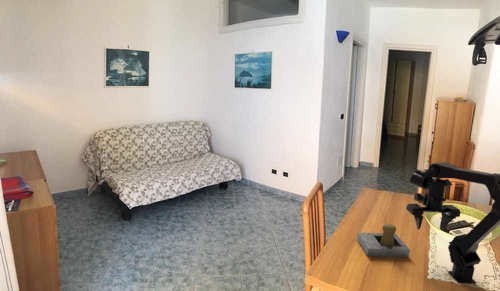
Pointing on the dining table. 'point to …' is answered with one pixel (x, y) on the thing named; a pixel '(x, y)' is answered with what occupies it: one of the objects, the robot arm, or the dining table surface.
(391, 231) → the olive pawn
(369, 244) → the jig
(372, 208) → the dining table surface
